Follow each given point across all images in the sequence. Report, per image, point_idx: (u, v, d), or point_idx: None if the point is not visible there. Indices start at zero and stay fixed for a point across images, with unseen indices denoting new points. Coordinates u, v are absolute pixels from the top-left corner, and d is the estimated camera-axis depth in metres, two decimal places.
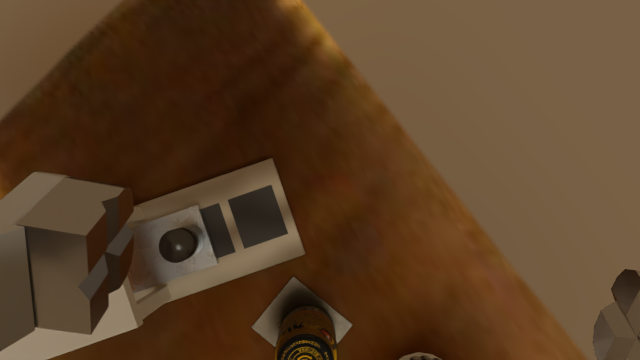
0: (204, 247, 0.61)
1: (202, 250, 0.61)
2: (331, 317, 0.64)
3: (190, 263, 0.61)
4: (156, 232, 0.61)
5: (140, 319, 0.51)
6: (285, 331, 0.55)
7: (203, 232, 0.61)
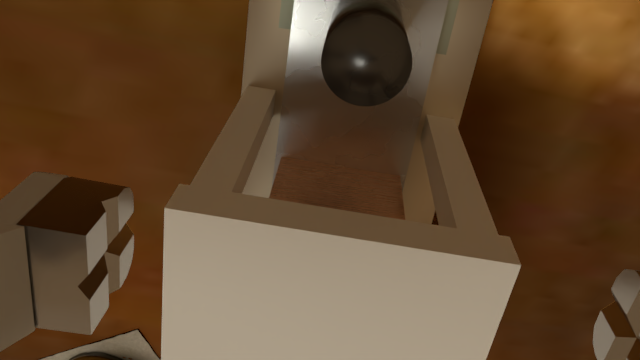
0: None
1: None
2: None
3: None
4: None
5: None
6: None
7: None
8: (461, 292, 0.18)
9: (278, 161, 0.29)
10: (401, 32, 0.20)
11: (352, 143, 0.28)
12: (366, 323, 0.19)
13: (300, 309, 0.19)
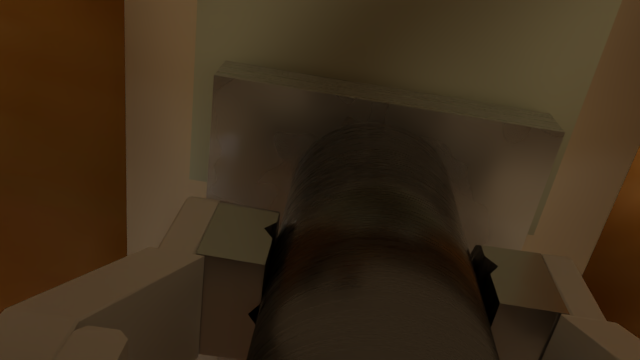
0: None
1: None
2: None
3: None
4: None
5: None
6: None
7: None
8: None
9: None
10: None
11: None
12: None
13: None
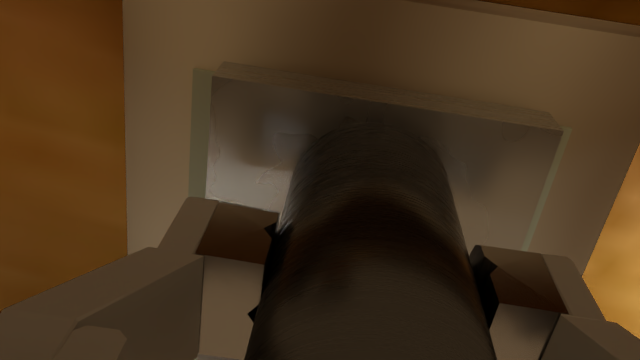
0: None
1: None
2: None
3: None
4: None
5: None
6: None
7: None
8: None
9: None
10: None
11: None
12: None
13: None
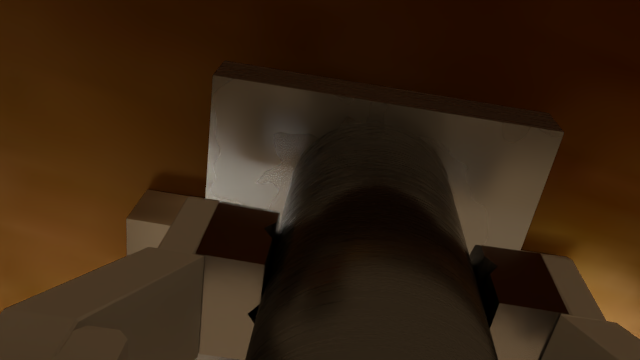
0: None
1: None
2: None
3: None
4: None
5: None
6: None
7: None
8: None
9: None
10: None
11: None
12: None
13: None
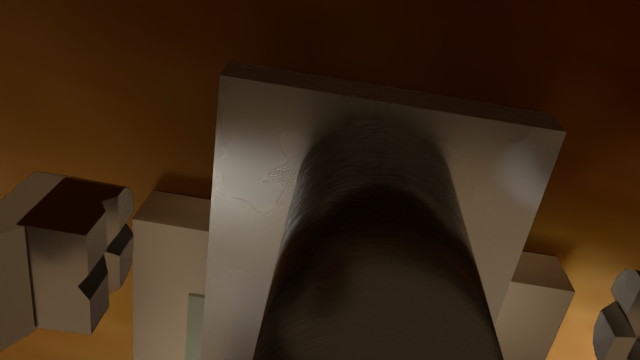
0: None
1: None
2: None
3: None
4: None
5: None
6: None
7: None
8: None
9: None
10: None
11: None
12: None
13: None
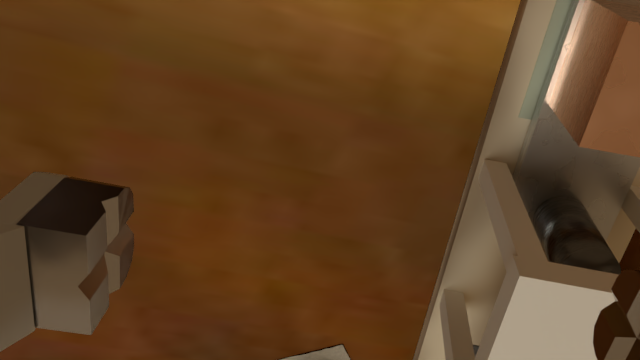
0: None
1: None
2: None
3: (526, 202, 0.36)
4: (608, 181, 0.35)
5: None
6: None
7: None
8: None
9: (581, 2, 0.30)
10: None
11: None
12: None
13: None
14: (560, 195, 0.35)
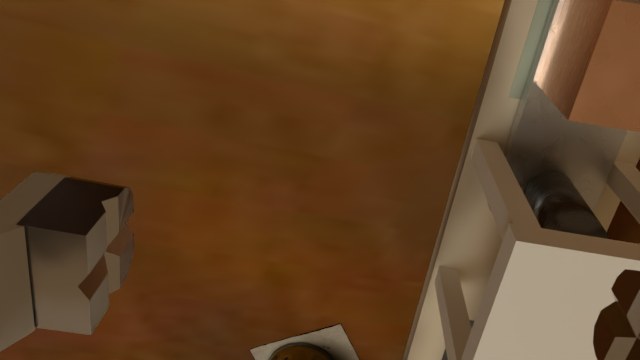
0: None
1: None
2: None
3: (517, 178, 0.38)
4: (594, 157, 0.36)
5: None
6: None
7: None
8: None
9: None
10: None
11: None
12: None
13: (590, 307, 0.28)
14: (549, 171, 0.37)
